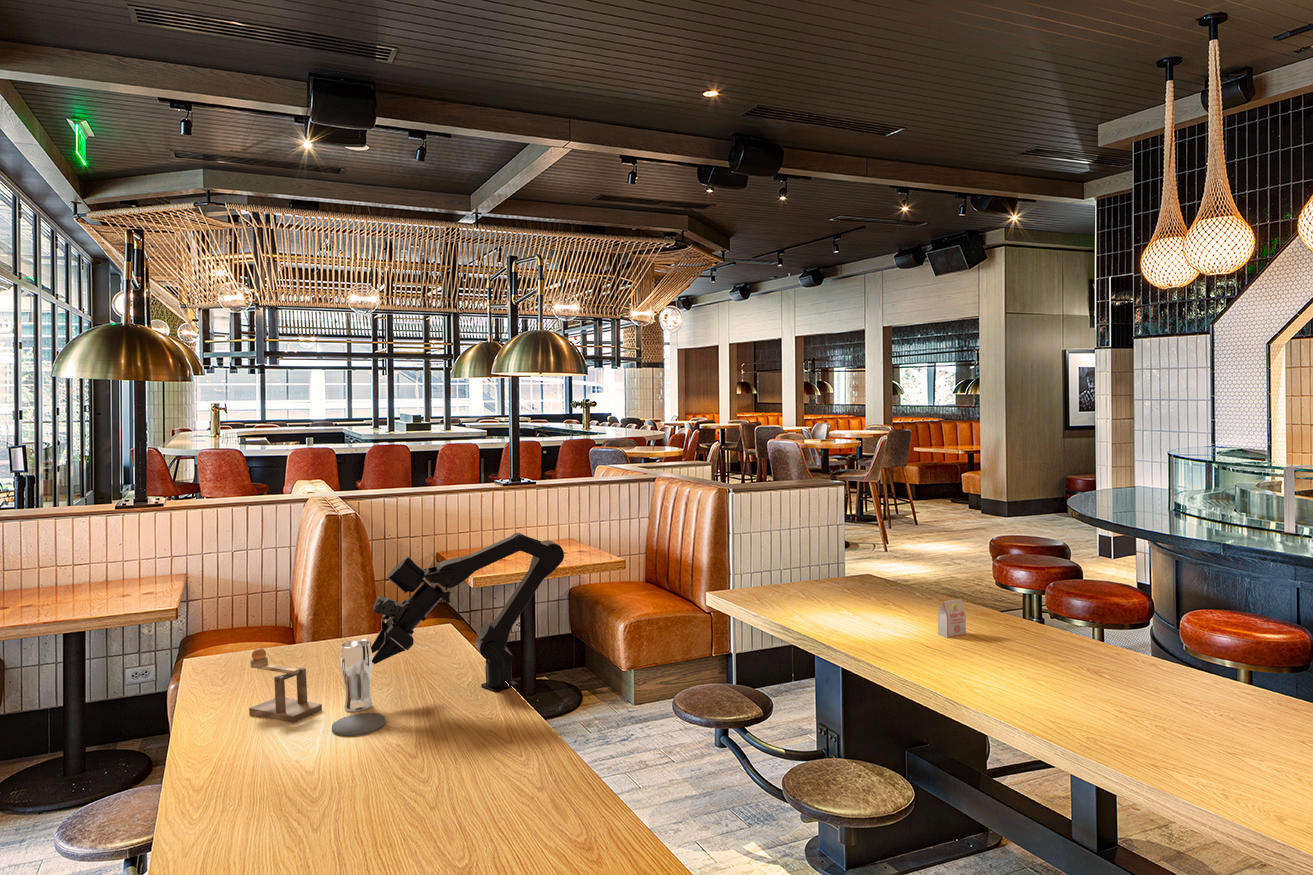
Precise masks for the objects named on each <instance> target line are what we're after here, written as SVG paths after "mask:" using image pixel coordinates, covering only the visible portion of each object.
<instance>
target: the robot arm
mask: <svg viewBox="0 0 1313 875" xmlns="http://www.w3.org/2000/svg"><path fill="white" fill-rule="evenodd" d="M563 549H564V548H563V547H561V546H560V545H559V544H557V542H555V541H552V540H550V539H549V540H548V539H547V540H543V541H541V540H539V539H537V538H533V537H530V536H527V535H524V534H523V533H521V532H515V533H513V534H512V535H510V536H508V537H506V538H504V539H501V540H499V541H498V542H495V543H493V544H490V545H488V546H486V547H483V548H482V549H480V550H478V551H475V552H473V553H471V554H468V555H463V556H456V557H452V558H449V559H445V560H442V561H440V562H439V563H437V565H435V566H431V567H427V568H421V567H420V566H419V565H418V564H417V563H415V562H414V560H413V559H412V557H410V556H406V557H405V558H404V559H402V560H401V561H399V563H397V564H395V565H394V567H393V568H392V569H391V570H390V571H389V573H388V574H387V576H386V579H388V581H390V582H391V583H392V584H393V585H395V586H396V587H397V588H398V589H400V590H401V591H402V592H403V593H404V594H407V593H413V594H412V595H411V596H410V597H409V598H408V599H407V598H405V599H403V600H402V601H401V602H400V601H397V600H394V599H391V598H390V597H385V596H382V595H377V598H376V599H375V601H374V604H373V606H372V612H373V613H376V614H378V615H379V614H381V615H382V616H381V617H382V618H381V619H380V622H381V623H380V626H381V629H380V631H379V633H378V634H377V636H376V638H375V639H374V641H373V643H371V649H372V654H374V656H372V664H374V665H376V664H378V663H380V662H382V661H384V660H386V659H389V658H391V657H393V656H395V655H398V654H401V653H402V652H406V651H409V650H410V649H411V648H412V647H413V645H414V637H413V634H414V632H415V630H414V629H416V628H417V627H418V625H419V624H420V623H421V622H425V620H427V617H426V616H427V615H429V613H430V612H431V611H432V610H433V609H434V607H435V606H437V604H438V603H439V602H440V601H441V600H443V601H445V603H446V604H450V603H451V600H450V599H451V598H450V596H451V591H450V589H453V588H454V587H457V586H458V585H460V584H461V583H463V582H464V581H466V580H467V579H468V578H469V577H470V576H472V575H473V574H474V573H476V572H477V571H479V570H481V569H483V568H485V567H487V566H490V565H492V564H494V563H496V562H498V561H500V560H503V559H504V558H507V557H509V556H512V555H513V554H516V553H517V552H523V553H524V554H525V553H526V554H528V555H530V556H532V558H531V561H530V564H529V567H528V571H527V572H526V573H525V575H523V577H522V579H521V580H520V582H519V584H518V585H517V587H516V589H514V591H513V593H512V594H511V596H510V597H509V599H508V600H507V602H506V603H505V605H504V606H503V608H502V609H501V611H500V612H499V614H498V616H496V618H495V619H493V620H492V621H491V622H490V621H488V620H485V621H484V622H483V624H482V626H481V628H480V629H479V630H478V631H477V632H476V635H477V636H476V638H475V644H476V645H475V646H476V648H477V651H479V654H480V655H481V656H482V658H484V659H485V682H484V683H481V685H480V686H481V687H483V688H485V689H488V690H489V691H493V692H500V691H502V690H506V689H509V688H512V687H515V686H517V685H518V682H516V681H513V679H512V674H513V673H512V662H513V659H514V656H513V654H512V653H511V652H510V650H509V649H508V647H507V646H506V645H507V644H508V642H509V637H510V634H511V630H512V627H513V626H514V624H515V623H516V622H517V620H518V619H519V617H520V615H521V614H522V613H523V611H524V609H525V608H526V606H527V605H528V603H529V602H530V600H531V599H532V598H533V596H534V594H535V593H536V591H537V590H538V588H539V587H540V585H541V584H542V582H543V581H544V579H546V578H547V577H548V576H549V575H551V574H552V573H553V572H554V571H555V570H556V569H557V568H558V567H559V566H560V565H561V563H562V562H563V561H564V558H565V553H564V550H563ZM424 578H425V579H424ZM430 583H431V584H430ZM438 584H439V585H438ZM442 587H443V588H445V589H443V588H442ZM505 681H506V682H507V683H508V684H509V686H510V687H509V686H508V684H507V683H506V682H505Z"/></svg>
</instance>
